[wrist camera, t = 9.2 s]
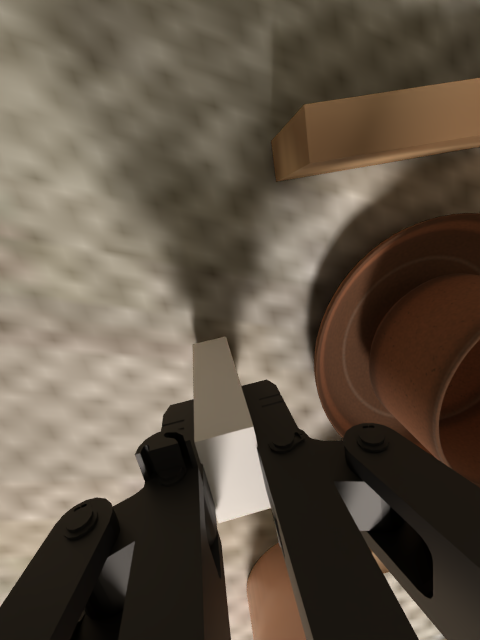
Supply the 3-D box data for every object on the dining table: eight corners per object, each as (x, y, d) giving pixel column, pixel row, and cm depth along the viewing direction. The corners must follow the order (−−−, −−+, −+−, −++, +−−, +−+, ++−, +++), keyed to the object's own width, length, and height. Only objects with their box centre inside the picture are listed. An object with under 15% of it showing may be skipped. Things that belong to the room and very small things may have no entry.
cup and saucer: (406, 158, 14) (563, 107, 8) (565, 298, 17) (763, 336, 11) (255, 381, 16) (291, 473, 10) (422, 470, 19) (526, 580, 13)
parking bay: (271, 141, 13) (304, 104, 9) (596, 89, 14) (749, 36, 10) (317, 508, 18) (349, 582, 14) (545, 449, 19) (630, 503, 16)
